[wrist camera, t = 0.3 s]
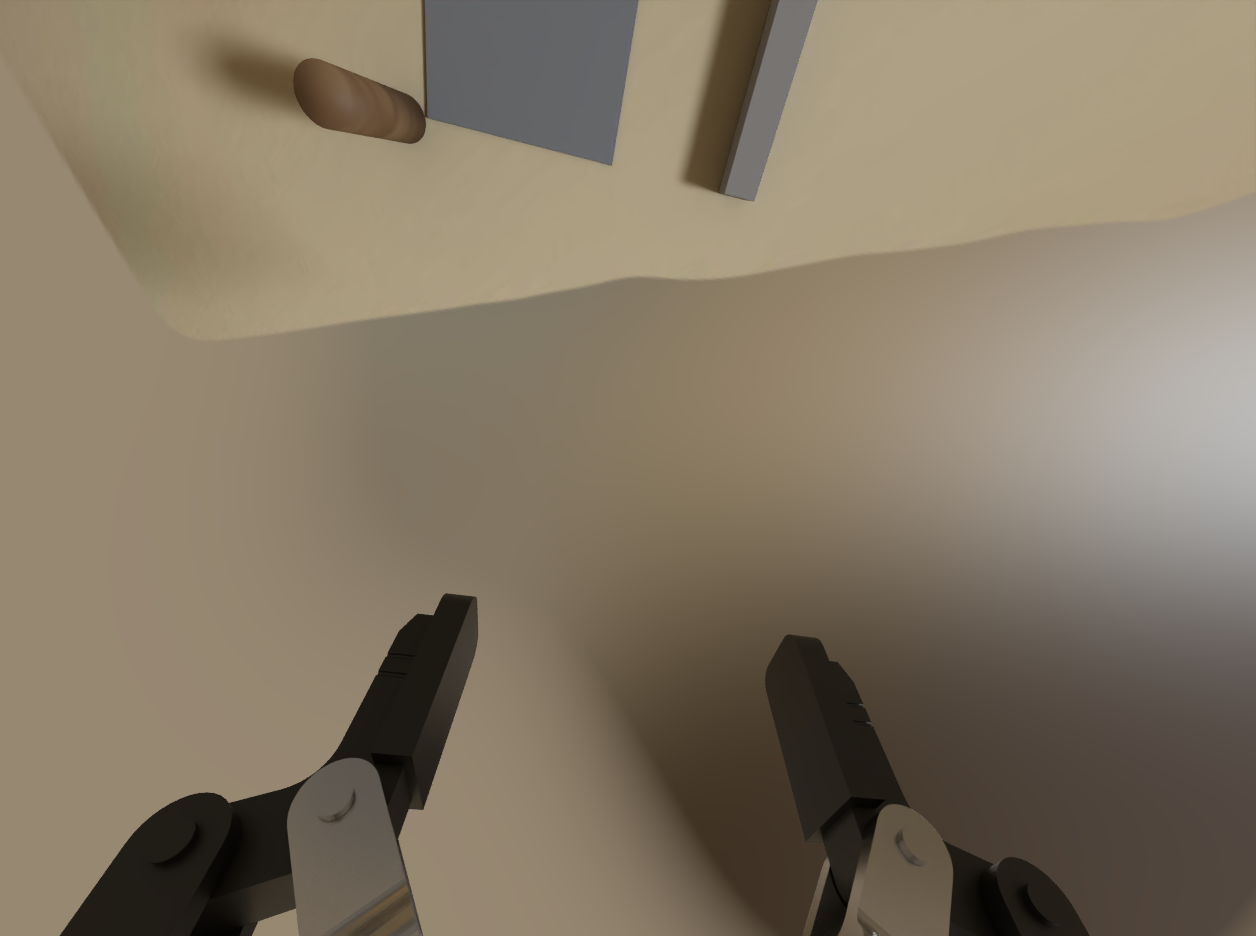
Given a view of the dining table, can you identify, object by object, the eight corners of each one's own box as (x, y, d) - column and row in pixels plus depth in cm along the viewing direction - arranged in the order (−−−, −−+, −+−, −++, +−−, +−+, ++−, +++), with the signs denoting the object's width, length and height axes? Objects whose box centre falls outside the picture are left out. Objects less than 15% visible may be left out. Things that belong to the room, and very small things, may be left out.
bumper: (788, -60, 24) (802, -83, 22) (822, -49, 24) (839, -70, 22) (718, 192, 31) (724, 193, 28) (745, 200, 31) (754, 201, 29)
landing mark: (421, -180, 22) (420, -183, 22) (654, -103, 23) (655, -106, 23) (428, 118, 29) (427, 117, 28) (611, 165, 30) (611, 165, 30)
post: (382, 87, 28) (288, 51, 20) (425, 98, 28) (348, 67, 20) (385, 138, 29) (299, 121, 22) (426, 148, 29) (354, 135, 22)
